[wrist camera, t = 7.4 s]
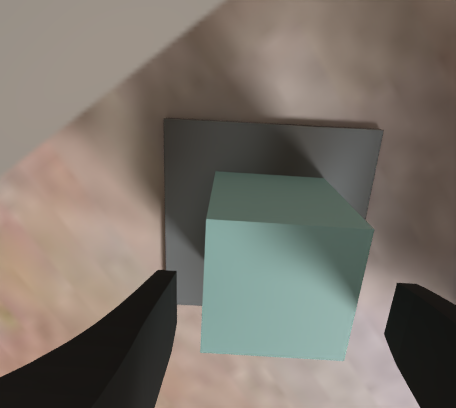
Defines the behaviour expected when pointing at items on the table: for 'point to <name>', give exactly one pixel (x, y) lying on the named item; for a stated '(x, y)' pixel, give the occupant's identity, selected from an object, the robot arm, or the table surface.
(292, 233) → the mint green cube
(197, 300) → the peg stand
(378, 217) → the table surface
